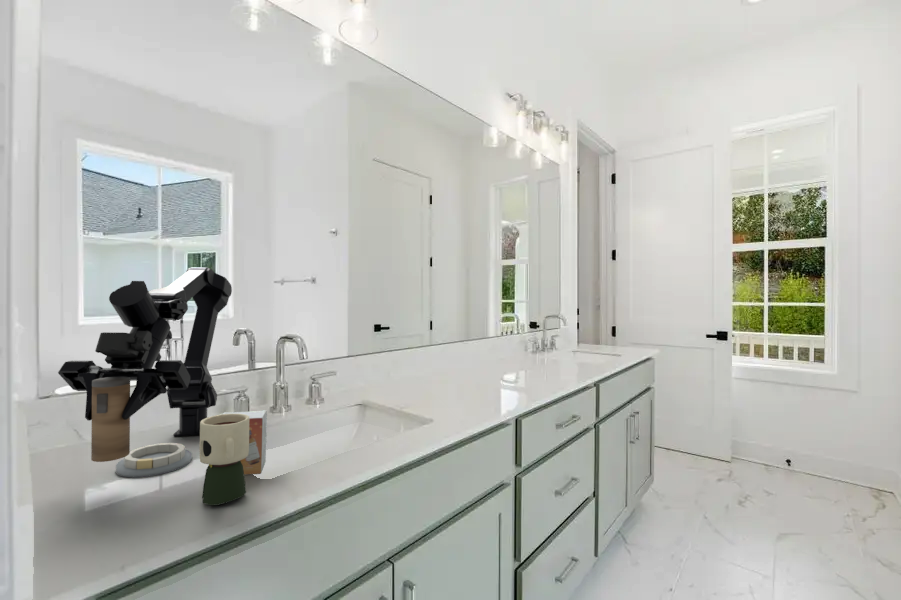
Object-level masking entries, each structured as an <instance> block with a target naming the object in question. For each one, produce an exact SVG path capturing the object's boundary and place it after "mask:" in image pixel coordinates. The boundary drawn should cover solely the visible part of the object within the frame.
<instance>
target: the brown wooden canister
mask: <svg viewBox="0 0 901 600" xmlns="http://www.w3.org/2000/svg"><path fill="white" fill-rule="evenodd" d="M130 397H131V381H130V377H124V376H118V377H105V378H99V379H95V380H92V420H91V442H90V443H91V447H90V448H91V450H90V451H91V456H90V457H91V458H90V459H91V461H92V462H94V463H95V462H96V463H105V462H112V461H117V460H120V459H124V457H126V456H127V455H129V453H130V451H131V450H130V449H131V448H130V446H131V445H130V444H131V441H130V439H131V432H130V431H131V429H130V428H131V427H130V426H131V425H130V424H131V417H129V418H128V419H127V420H124V419H123V418H122V414H123V411H124V409H125V406H126V404H127V402H128V401H129V399H130Z"/></svg>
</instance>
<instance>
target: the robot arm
mask: <svg viewBox="0 0 901 600" xmlns="http://www.w3.org/2000/svg"><path fill="white" fill-rule="evenodd" d="M185 271H186V272H185V273H183V274H182V275H181V276H179V277H177V279H175V280H174V281H173V282H172V283H170V284H169V285H167V286H165V287H159V288H153V289H151V290H149V289H148V286H147V284H146V282H145V280H131V282H130V284H126V285H123V286H120V287H119V288H117V289H115V290H114V291H111V293H110V295H109V298H108V300H109V303H110V304H111V306H112V307H113V309H114V310H115V312H116V314H117V315H118V318H120V319H121V321H122V323H123V324H124V325H125V326H127V327H131V330H130V332H129V333H128V332H110V331H109V332H100V334H99V338H98V341H97V344H96V347H95V350H94V351H95V352H96V353H97V354H98V353H100V354H102V355H104V356H106V357H105V358H104V361H105V362H106V364H108V365H111V367H102V366H100V365H97V364H95V362H94V361H93V360H68V361H65V362H64V363H63V364H62V365H61V367H60V368H59V370H58V372H57V373H58V375H59V376H60V377H61V378H62V379H63V380H64V381H65V383H67V385H68V386H69V387H70V388H71V389H72V390H74V391H77V392H86V399H85V410H84V411H85V413H84V418H85V419H86V420H87V421H89V422H90V421H92V380H95V379H99V378H105V377H118V376H124V377H130V382H132V381H133V382H135V381H136V382H135V383H136V384H135V386H134V389H133V391H132V393H131V394H130V399H129V401H128V402H127V404H126V406H125V409H124V411H123V414H122V418H123V419H124V420H127V419H128V418H129V417H130V418H131V417H132V416H134V415H135V414H136V413H137V412H138V411H140V410H141V409H142V408H143V407H144V406H146V405H147V404H149V402H151V401H153V400H154V399H155V398H157V397H158V396H160V395H161V394H166V395H167V400H168V404H169V409H179V416H178V417H179V421H178V422H179V425H178V426H179V428H178V429H177V430H176V431H175V432H174V433H173V435H172V436H173V437H184V436H200V422H201V420H203V419H205V418H208V409H209V408H211V407H215V406H217V400H218V393H217V391H216V390H215V388H214V386H213V384H212V381H213V380H212V379H213V378H212V376H211V374H210V371H209V370H208V363H209V358H210V354H211V353H210V352H211V348H212V344H213V337H214V335H215V328H216V324H217V320H218V316H219V313H220V312H222V310H223V309H225V307H226V306H227V305H228V302H229V298H230V297H231V295H232V292H233V288H232V284H231V282H229V280H228V279H227V278H226V277H225V276H223V275H221V274H218V273H216V272H215V271H214V270H213V269H212V268H210V267H206V266H205V267H202V266H201V267H200V266H199V267H195V266H193V267H192V266H191V267H188V268H187V269H186V270H185ZM191 299H193V301H194V303H195V306H196V311H195V312H196V313H195V316H194V320H193V325H192V329H191V333H190V338H189V340H188V341H189V342H188V346H187V349H186V350H187V351H186V354H185V359H184V362H183V361H182V360H178V359H175V360H172V359H171V360H169V359H168V360H161V359H162V355H161V354H160V351H161V349H162V347H163V345H164V343H165V340H172V339H173V333H172V331H171V325H170V324H169V322H168V321H180V320H182V318H183V317H184V316H185V314H186V313H187V311H188V308H189V306H188V302H189V301H190V300H191ZM154 364H155V365H154ZM153 366H154V368H153Z"/></svg>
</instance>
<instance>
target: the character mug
mask: <svg viewBox="0 0 901 600" xmlns="http://www.w3.org/2000/svg"><path fill="white" fill-rule="evenodd" d="M221 414H222V413H221ZM221 414H217V415H212V416H207V418H205V419H203V420H201V422H200V435H199V443H198V444H199V446H198V449H199V462H200V463H202V464H204V465H208V466H207V467H206V469H205V475H204V481H203V484H202V485H203V487H202V494H201V499H202V503H203V504H205V505H207V506H219V505H221V504H222V505H223V504H227V503H229V502H231V501H235V500H238V499H240V498H242V497H244V496H245V495H246V493H247V489H246V479H245V475H244V470H243V465H242V463H241V461H240V460H242V459H244V458H246V457H247V456H248V453H249V416H248V415H245V414H222V415H221ZM226 502H227V503H226Z"/></svg>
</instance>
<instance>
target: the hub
mask: <svg viewBox="0 0 901 600" xmlns="http://www.w3.org/2000/svg"><path fill="white" fill-rule="evenodd" d="M192 455H193V453H192V452H191V451H190V450H189V449H186V446H185V445H184V444H183V443H176V442H163V443H160V442H159V443H155V444H154V443H153V444H149V445H143V446H140V447H138V448H135V449H132V450H130V453H129V455H127V456H126V457H123V458H122V459H121V460H119V461H118V462H117V463H116V464H115V473H116V474H117V475H118V476H120V477H124V478H146V477H147V478H148V477H153V476H159V475H164V474H167V473H171V472H175V471H177V470H179V469H181V468H183V467H186V466H187V465H189V464H190V463H191V462H192V458H193V457H192Z"/></svg>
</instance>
